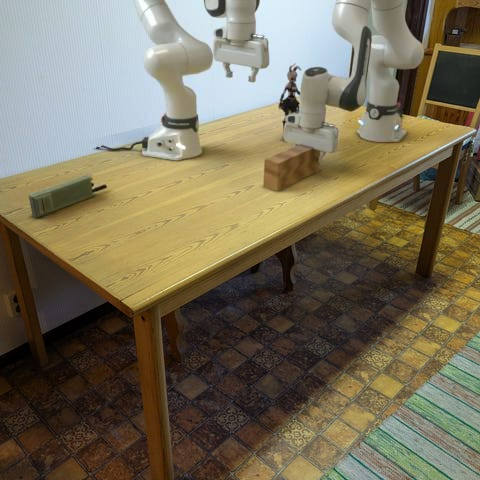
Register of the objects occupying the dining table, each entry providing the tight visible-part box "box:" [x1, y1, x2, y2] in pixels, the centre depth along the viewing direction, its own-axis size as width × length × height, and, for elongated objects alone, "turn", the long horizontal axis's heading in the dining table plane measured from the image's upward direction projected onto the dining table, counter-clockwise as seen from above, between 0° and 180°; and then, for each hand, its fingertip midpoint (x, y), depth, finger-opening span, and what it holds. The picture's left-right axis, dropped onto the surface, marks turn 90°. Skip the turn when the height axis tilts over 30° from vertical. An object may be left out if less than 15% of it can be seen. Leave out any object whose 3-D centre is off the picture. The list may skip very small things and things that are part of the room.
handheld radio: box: [28, 173, 108, 219], centre depth 150 cm, size 7×3×25 cm
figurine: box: [278, 62, 302, 142], centre depth 199 cm, size 15×6×30 cm, turn 132°
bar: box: [263, 144, 321, 192], centre depth 168 cm, size 24×6×10 cm, turn 139°
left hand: (240, 79), depth 159 cm, fingers open, 8 cm apart
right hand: (308, 159), depth 174 cm, fingers open, 7 cm apart
